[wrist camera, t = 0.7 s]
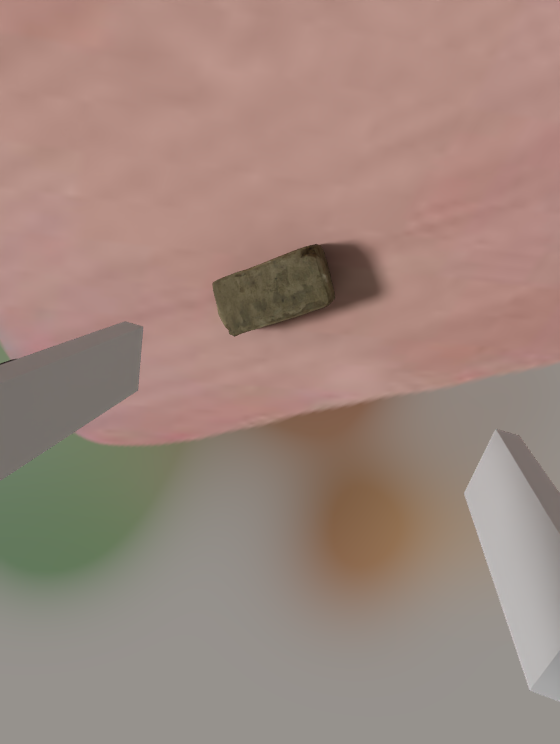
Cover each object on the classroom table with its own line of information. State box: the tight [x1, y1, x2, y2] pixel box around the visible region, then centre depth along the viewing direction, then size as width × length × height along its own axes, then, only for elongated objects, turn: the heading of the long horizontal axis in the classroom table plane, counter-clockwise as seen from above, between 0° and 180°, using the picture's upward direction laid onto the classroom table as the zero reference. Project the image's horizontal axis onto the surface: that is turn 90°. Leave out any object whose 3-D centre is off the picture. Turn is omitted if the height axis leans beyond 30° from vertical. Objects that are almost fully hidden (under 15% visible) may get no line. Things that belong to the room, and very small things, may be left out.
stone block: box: [212, 244, 335, 336], centre depth 38 cm, size 6×12×5 cm, turn 111°
